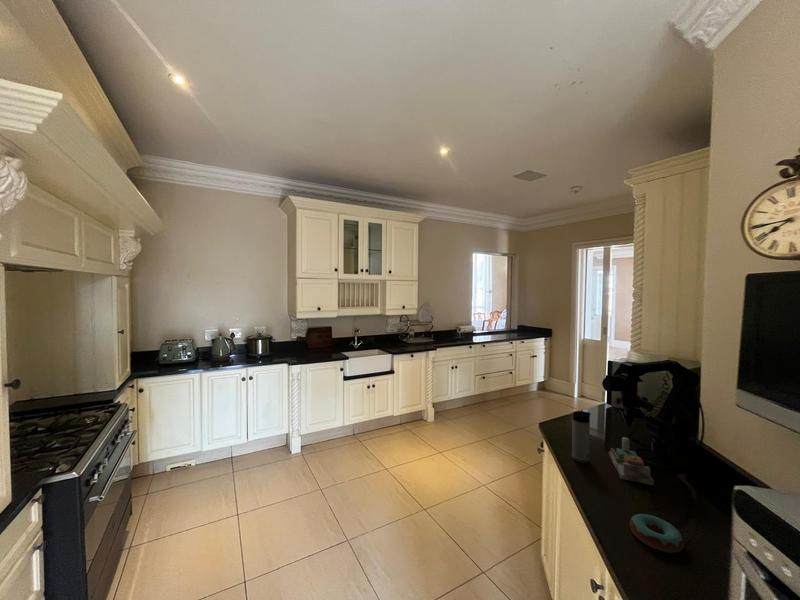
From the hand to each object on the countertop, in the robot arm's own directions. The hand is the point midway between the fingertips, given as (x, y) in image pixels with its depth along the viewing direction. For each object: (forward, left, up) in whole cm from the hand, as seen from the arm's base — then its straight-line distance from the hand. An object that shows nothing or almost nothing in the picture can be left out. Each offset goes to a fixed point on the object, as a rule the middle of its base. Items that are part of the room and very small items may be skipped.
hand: (628, 426), depth 135 cm
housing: (+3, +19, -10) cm, 22 cm away
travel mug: (+20, +14, -12) cm, 27 cm away
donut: (+7, +55, -12) cm, 57 cm away
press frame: (+3, +14, -12) cm, 19 cm away
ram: (+3, +10, -10) cm, 14 cm away
